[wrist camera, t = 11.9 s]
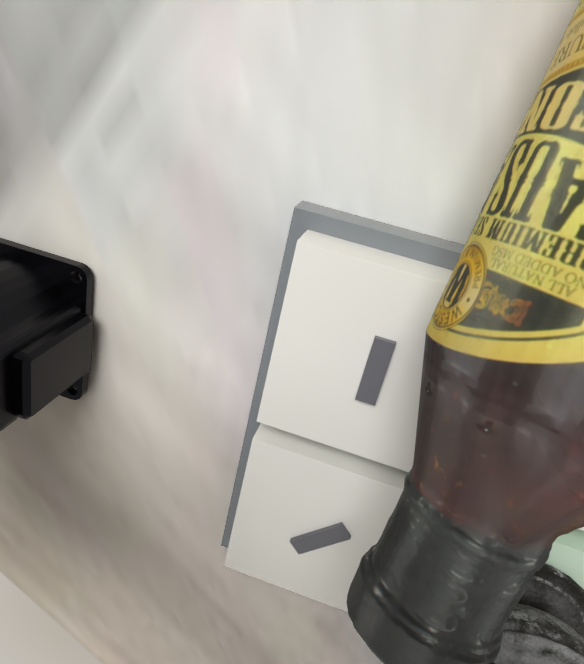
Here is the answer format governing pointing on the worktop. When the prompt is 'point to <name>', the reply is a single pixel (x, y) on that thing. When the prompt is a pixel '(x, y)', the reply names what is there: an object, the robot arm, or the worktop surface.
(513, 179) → the sauce bottle
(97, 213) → the worktop surface
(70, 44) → the worktop surface
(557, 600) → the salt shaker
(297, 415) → the keypad board
